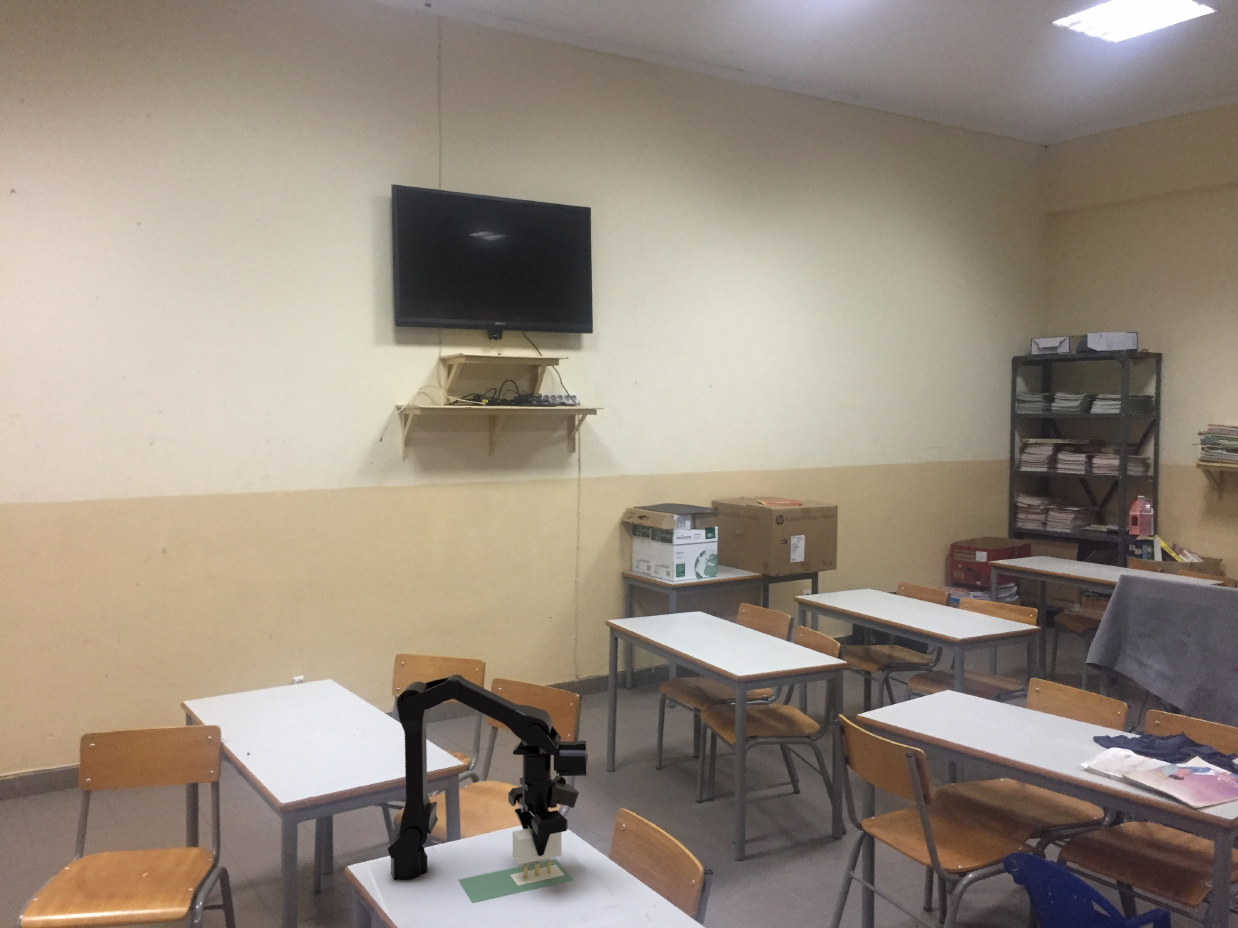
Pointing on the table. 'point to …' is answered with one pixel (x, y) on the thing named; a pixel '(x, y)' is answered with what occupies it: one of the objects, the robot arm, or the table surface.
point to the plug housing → (526, 849)
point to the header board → (514, 880)
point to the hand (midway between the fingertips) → (536, 850)
